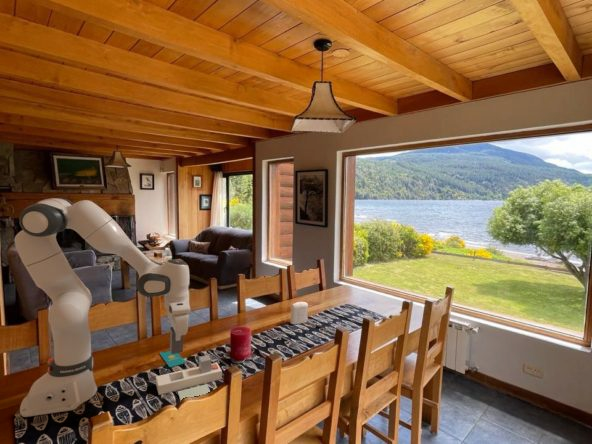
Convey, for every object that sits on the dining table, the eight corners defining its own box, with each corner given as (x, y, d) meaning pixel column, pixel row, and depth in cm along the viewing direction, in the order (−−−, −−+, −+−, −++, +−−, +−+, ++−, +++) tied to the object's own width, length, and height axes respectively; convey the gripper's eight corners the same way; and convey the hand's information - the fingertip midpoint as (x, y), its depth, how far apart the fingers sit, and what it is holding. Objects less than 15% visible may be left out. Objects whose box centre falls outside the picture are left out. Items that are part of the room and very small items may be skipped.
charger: (171, 354, 127) (172, 331, 126) (169, 349, 131) (170, 327, 130) (182, 352, 129) (183, 329, 128) (180, 347, 133) (180, 325, 132)
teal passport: (169, 367, 143) (158, 352, 155) (169, 369, 143) (158, 354, 155) (186, 362, 148) (174, 348, 159) (186, 364, 148) (174, 350, 159)
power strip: (158, 394, 125) (158, 373, 124) (156, 384, 131) (156, 364, 130) (221, 378, 137) (222, 359, 136) (216, 370, 143) (217, 351, 142)
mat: (181, 403, 121) (181, 402, 121) (177, 392, 127) (177, 391, 127) (211, 394, 127) (211, 394, 127) (206, 385, 133) (206, 384, 133)
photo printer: (304, 320, 201) (305, 299, 199) (308, 322, 197) (309, 302, 195) (289, 322, 196) (290, 301, 195) (292, 325, 192) (293, 304, 191)
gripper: (163, 294, 135) (163, 327, 137) (172, 312, 118) (172, 350, 119) (180, 292, 139) (179, 325, 140) (191, 310, 121) (190, 346, 122)
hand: (176, 336), depth 130 cm, fingers closed on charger, 4 cm apart
